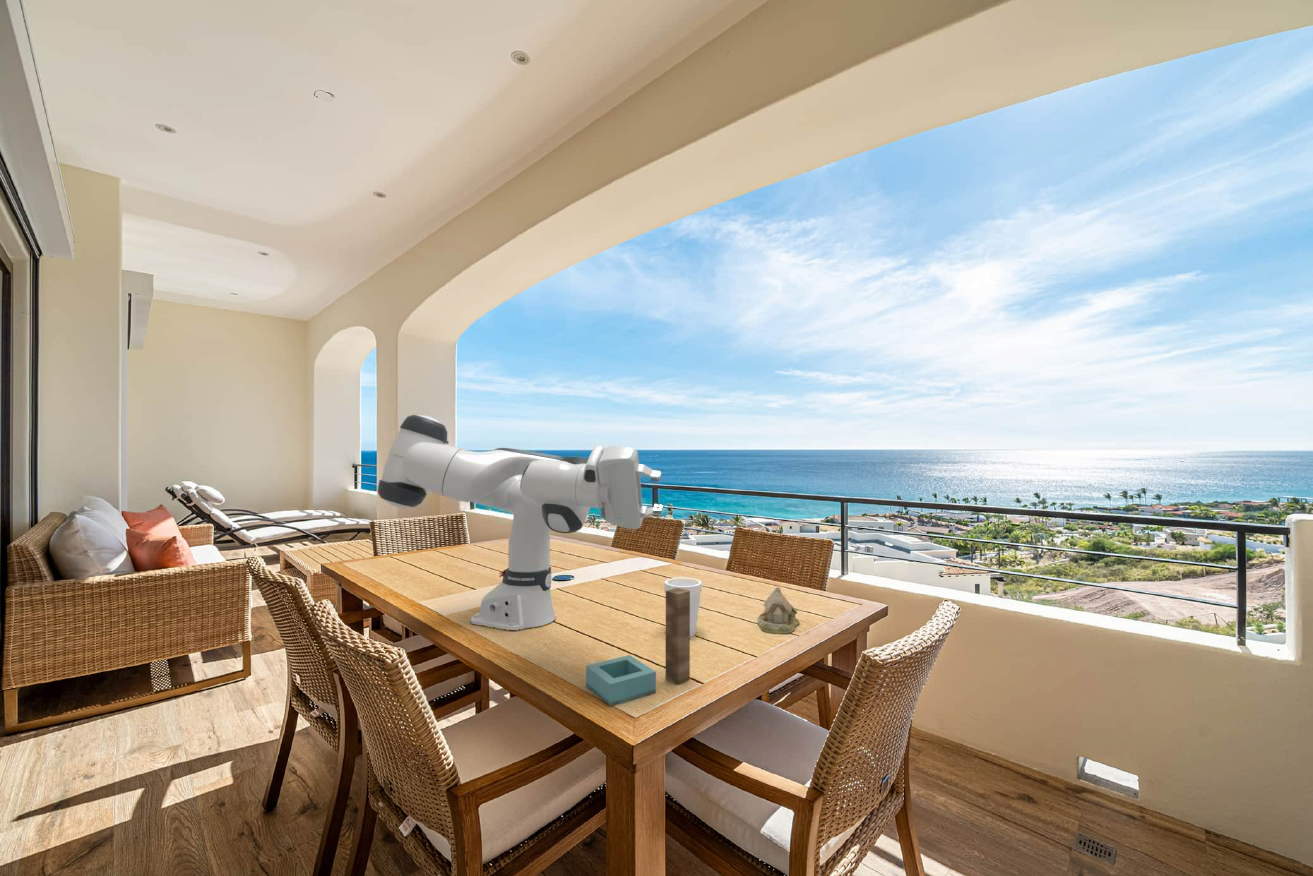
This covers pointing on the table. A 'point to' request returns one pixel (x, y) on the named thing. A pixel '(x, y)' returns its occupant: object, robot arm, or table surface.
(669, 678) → the wooden block
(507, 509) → the robot arm
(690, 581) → the foam cup
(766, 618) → the ceramic model
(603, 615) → the table surface
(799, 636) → the table surface
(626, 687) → the light blue square container
